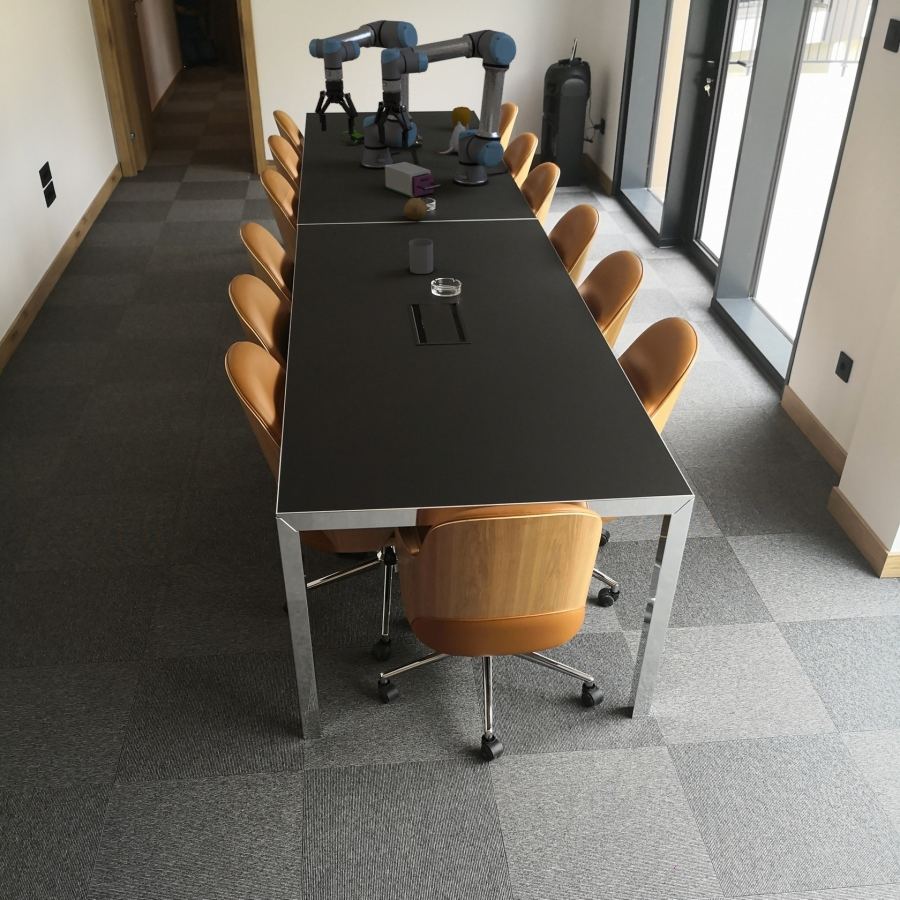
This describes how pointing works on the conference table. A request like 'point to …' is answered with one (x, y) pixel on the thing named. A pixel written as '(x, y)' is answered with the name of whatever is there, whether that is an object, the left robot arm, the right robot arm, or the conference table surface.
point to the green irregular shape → (355, 137)
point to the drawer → (423, 184)
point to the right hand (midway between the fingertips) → (393, 144)
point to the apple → (461, 116)
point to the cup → (421, 256)
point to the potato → (415, 209)
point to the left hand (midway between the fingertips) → (337, 132)
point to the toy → (455, 139)
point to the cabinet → (402, 177)
